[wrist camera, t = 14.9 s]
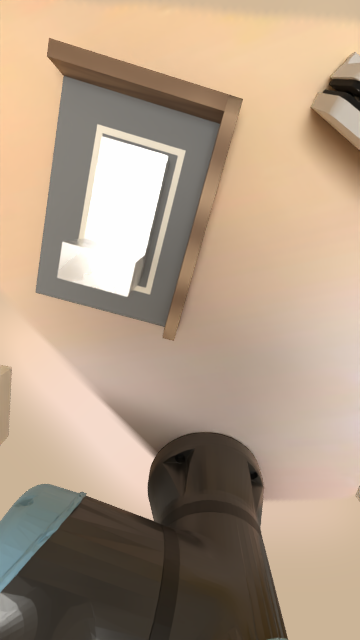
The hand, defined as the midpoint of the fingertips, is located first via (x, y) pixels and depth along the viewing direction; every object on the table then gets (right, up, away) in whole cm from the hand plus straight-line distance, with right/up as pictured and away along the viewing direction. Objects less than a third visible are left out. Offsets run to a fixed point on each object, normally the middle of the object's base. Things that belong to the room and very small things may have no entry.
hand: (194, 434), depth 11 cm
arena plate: (-6, +15, +21) cm, 27 cm away
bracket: (-6, +15, +21) cm, 26 cm away
